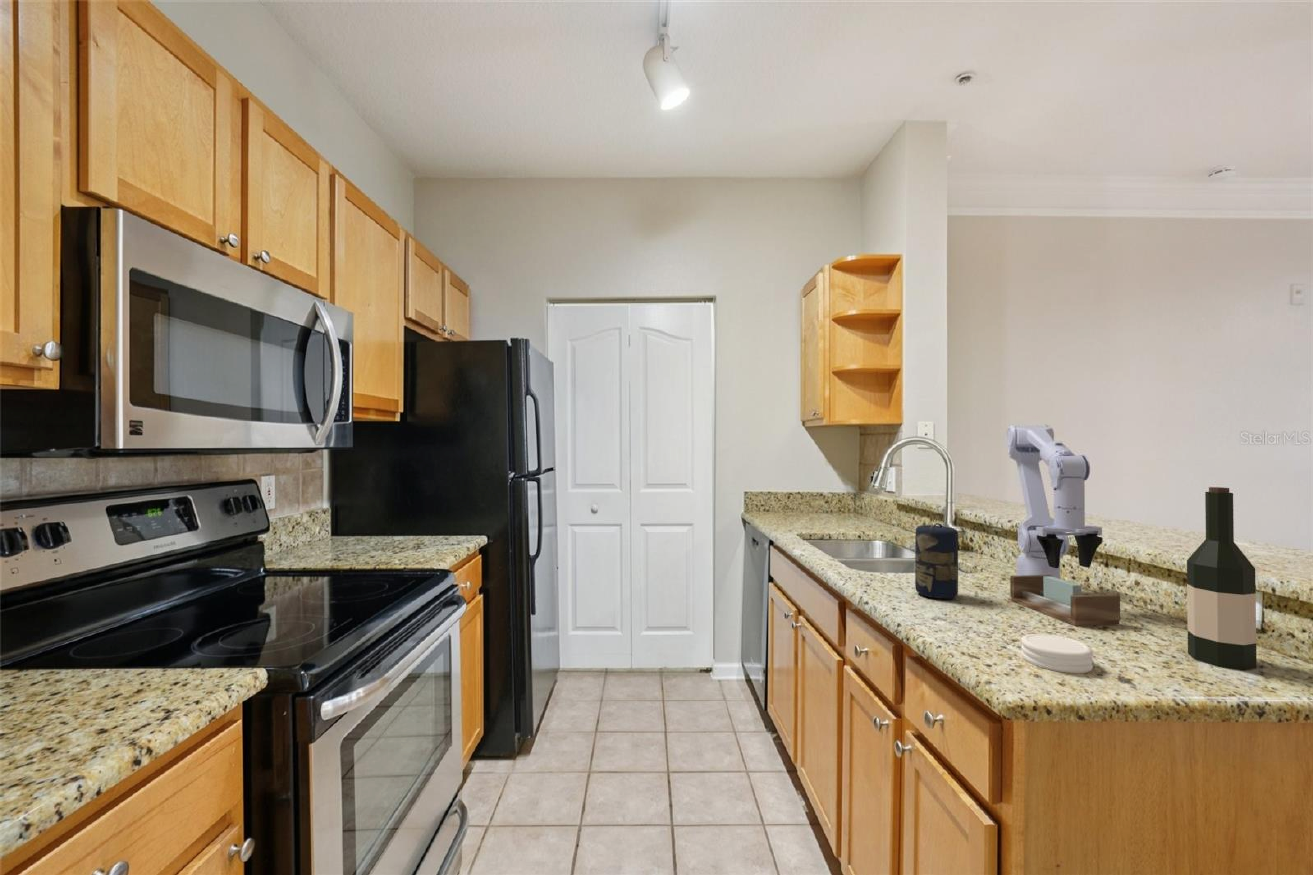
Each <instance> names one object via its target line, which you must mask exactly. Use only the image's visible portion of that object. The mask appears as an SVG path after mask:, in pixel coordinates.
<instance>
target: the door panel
mask: <svg viewBox="0 0 1313 875" xmlns="http://www.w3.org/2000/svg"><path fill="white" fill-rule="evenodd" d="M1043 583H1044V597H1045V598H1048V599H1051V600H1053V601H1056V602H1059V603H1062V604H1065V605H1068V606H1070V607H1071V598H1070V595H1082V585H1081V584H1079V583H1075V582H1071V581H1068V580H1065V579H1061V578H1060V579H1059V578H1055V577H1052V576H1047V577H1043Z"/></svg>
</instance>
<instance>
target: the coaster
mask: <svg viewBox="0 0 1313 875" xmlns="http://www.w3.org/2000/svg"><path fill="white" fill-rule="evenodd" d="M1020 642H1021V646H1020V648H1021V657H1022V658H1023V659H1024V660H1025V661H1026V662H1028V663H1029V664H1031V665H1034V666H1036V667H1039V668H1041V669H1042V668H1043V669H1046V670H1048V671H1049V670H1050V671H1053V672H1060V673H1067V674H1086V673H1090V672H1091V671H1092V670H1093V668H1094V666H1093V662H1094V660H1093V655H1094V652H1093V650H1092V648H1091V647H1090V646H1089V645H1087V644H1085V643H1084V642H1081V641H1078V640H1076V639H1072V638H1068V637H1065V636H1061V635H1053V634H1047V633H1030V634H1029V633H1028V634H1026V635H1024V636H1022V637H1021V639H1020Z"/></svg>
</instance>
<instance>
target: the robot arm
mask: <svg viewBox="0 0 1313 875" xmlns="http://www.w3.org/2000/svg"><path fill="white" fill-rule="evenodd" d="M1005 445H1006V449H1007V453H1008V456H1009V458H1010V459H1012V460H1014V461H1015V462H1016V466H1017V469H1018V475H1019V479H1020V484H1021V490H1022V495H1023V501H1024V506H1025V510H1026V515H1027V518H1026V519H1025V520H1023V521H1022V522H1020V523H1019V525H1018V527H1017V528H1016V531H1017V544H1018V548H1019V550H1020V551H1021V554H1020V555H1019V556H1018V557H1017V560H1016V576H1020V575H1051V576H1053V577H1055V578H1059V579H1061V559H1064V556H1065V555H1066V554H1067V553H1068V552H1069V549H1070V538H1069V536H1074V538H1075V539H1074V540H1075V542H1076V546H1077V551H1078V563H1079V564H1078V565H1079V566H1080V567H1083V568H1087V569H1089V568H1091V565H1092V562H1093V559H1094V556H1095V553H1096V551H1097V550H1098V548H1099V546H1101V544H1102V543H1103V537H1102V536H1103V527H1102V526H1097V525H1085V524H1086V522H1085V520H1086V519H1085V518H1086V514H1085V509H1086V508H1085V506H1086V505H1085V504H1086V503H1085V498H1086V497H1085V496H1086V495H1085V493H1086V492H1085V487H1086V486H1085V485H1086V484H1085V481H1087V480H1088V479H1089V477H1090V473H1091V465H1090V461H1089V459H1088V457H1087V456H1086V455H1085V454H1081V455H1080V454H1079V455H1076V454H1075V453H1074V452H1072V451H1071V450H1070V449H1069V448H1068V447H1067V446H1066V445H1065V444H1064V443H1063V442H1062V441H1061V440H1059V441H1058V440H1055V432H1054V429H1053V428H1052V426H1051V425H1049V424H1045V425H1044V424H1043V425H1041V424H1040V425H1039V424H1038V425H1037V424H1036V425H1034V424H1033V425H1028V424H1027V425H1025V424H1024V425H1023V424H1022V425H1014V424H1011V425H1009V426H1008V427H1007V429H1006V434H1005ZM1041 461H1043V462H1044V463H1045V464H1046V466H1047V467H1048V473H1049V474H1048V475H1049V477H1050V485H1051V487H1052V488H1053V517H1052V516H1051V514H1050V510H1049V506H1048V501H1047V495H1046V492H1045V491H1046V490H1045V487H1044V482H1043V478H1042V473H1041V468H1040V462H1041Z"/></svg>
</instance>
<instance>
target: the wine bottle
mask: <svg viewBox="0 0 1313 875" xmlns="http://www.w3.org/2000/svg"><path fill="white" fill-rule="evenodd" d="M1204 493H1205V495H1204V496H1205V498H1204V499H1205V503H1204V505H1205V539H1204V541H1203V542H1202V543H1201V544H1200V545H1199V546H1198V547H1197V548H1196V549H1195V550H1194V552H1193V553H1192V554H1191V555H1190V556H1189V557H1188V558H1187V560H1186V594H1187V595H1186V599H1187V600H1186V603H1187V604H1186V608H1187V618H1186V619H1187V654H1188V655H1189V656H1190V657H1191V658H1192V659H1194V661H1198V662H1201V663H1203V664H1208V665H1211V664H1212V666H1214V665H1215V666H1214V667H1217V668H1226V669H1231V668H1232V669H1231V670H1238V669H1239V670H1240V671H1249V670H1255V669H1257V668H1258V667H1257V665H1258V664H1257V663H1258V662H1257V661H1258V660H1257V604H1256V603H1257V594H1256V593H1257V592H1256V586H1257V585H1256V567H1255V566H1254V565H1253V564H1252V562H1251V561H1250V560H1249V559H1248V557H1247V556H1246V555H1245V554H1244V552H1243V551H1242V550H1241V549H1240V548H1239V547H1238V545H1237V544H1236V542H1235V540H1234V538H1235V534H1234V532H1235V531H1234V529H1235V528H1234V526H1235V524H1234V523H1235V522H1234V493H1233V492H1230V488H1229V487H1219V486H1218V487H1217V486H1216V487H1214V486H1209V487H1208V491H1205V492H1204Z"/></svg>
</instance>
